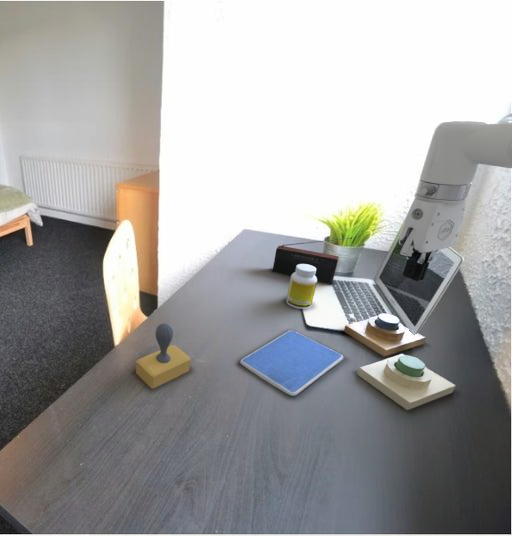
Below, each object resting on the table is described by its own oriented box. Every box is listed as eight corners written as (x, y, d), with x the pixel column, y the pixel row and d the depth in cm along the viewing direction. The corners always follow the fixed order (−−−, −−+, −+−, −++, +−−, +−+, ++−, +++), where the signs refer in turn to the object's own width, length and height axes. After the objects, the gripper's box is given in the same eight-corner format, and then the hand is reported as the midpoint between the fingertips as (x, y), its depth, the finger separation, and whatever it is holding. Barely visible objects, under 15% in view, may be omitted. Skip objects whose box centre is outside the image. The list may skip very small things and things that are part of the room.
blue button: (384, 319, 87) (386, 311, 86) (401, 328, 83) (404, 321, 82) (371, 323, 86) (373, 315, 85) (388, 332, 82) (391, 324, 81)
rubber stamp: (172, 356, 82) (174, 310, 77) (190, 371, 78) (194, 323, 73) (135, 373, 78) (135, 325, 73) (151, 390, 73) (153, 340, 68)
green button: (405, 361, 74) (408, 353, 73) (426, 374, 70) (430, 365, 69) (390, 366, 72) (393, 357, 72) (411, 379, 69) (415, 371, 68)
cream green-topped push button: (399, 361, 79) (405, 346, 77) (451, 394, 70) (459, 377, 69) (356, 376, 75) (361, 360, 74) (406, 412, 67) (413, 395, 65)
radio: (271, 273, 117) (279, 228, 111) (274, 269, 120) (282, 225, 113) (338, 288, 108) (351, 240, 101) (340, 284, 110) (352, 236, 103)
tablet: (290, 332, 89) (291, 327, 89) (344, 359, 80) (346, 355, 79) (237, 364, 79) (238, 359, 79) (293, 400, 70) (294, 395, 69)
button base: (380, 322, 92) (384, 308, 90) (422, 345, 83) (428, 330, 82) (343, 332, 89) (347, 318, 87) (383, 358, 80) (388, 343, 78)
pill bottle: (315, 310, 98) (324, 272, 93) (291, 310, 98) (299, 273, 93) (304, 298, 103) (312, 262, 98) (282, 298, 103) (289, 262, 99)
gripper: (435, 200, 65) (405, 292, 73) (491, 190, 69) (457, 278, 77) (393, 191, 71) (369, 277, 79) (446, 182, 76) (419, 264, 83)
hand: (412, 277), depth 78 cm, fingers closed
